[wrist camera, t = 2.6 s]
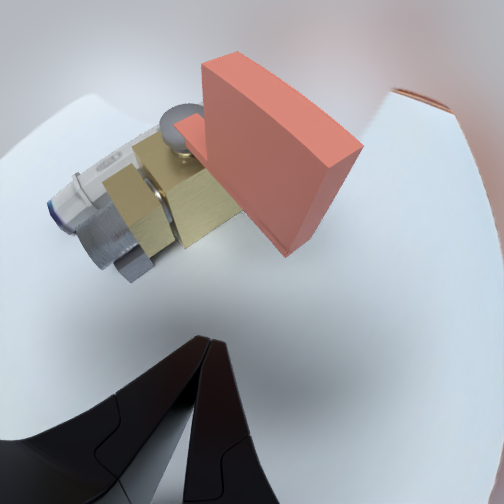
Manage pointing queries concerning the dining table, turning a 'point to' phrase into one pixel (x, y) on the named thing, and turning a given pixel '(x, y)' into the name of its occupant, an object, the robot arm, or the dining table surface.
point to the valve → (154, 208)
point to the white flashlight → (92, 187)
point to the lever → (264, 147)
